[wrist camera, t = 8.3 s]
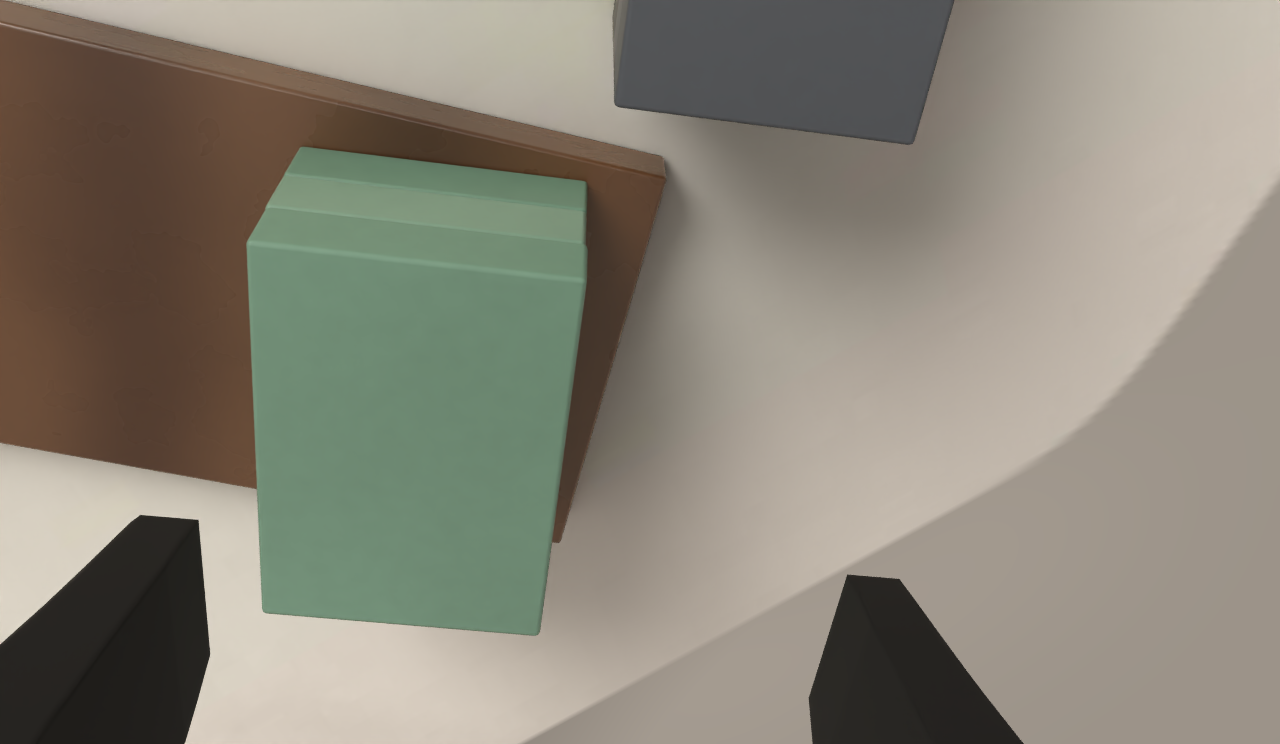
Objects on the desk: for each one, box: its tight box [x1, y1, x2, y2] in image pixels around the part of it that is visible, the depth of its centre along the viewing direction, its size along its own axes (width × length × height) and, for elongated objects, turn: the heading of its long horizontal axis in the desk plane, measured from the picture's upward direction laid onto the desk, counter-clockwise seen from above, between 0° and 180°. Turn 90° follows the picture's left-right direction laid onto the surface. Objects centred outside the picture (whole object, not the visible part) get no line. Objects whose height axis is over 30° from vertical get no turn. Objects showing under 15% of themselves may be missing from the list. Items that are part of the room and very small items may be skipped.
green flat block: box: [265, 147, 588, 245], centre depth 20 cm, size 5×7×2 cm, turn 172°
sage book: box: [246, 208, 588, 636], centre depth 19 cm, size 5×7×1 cm, turn 172°
